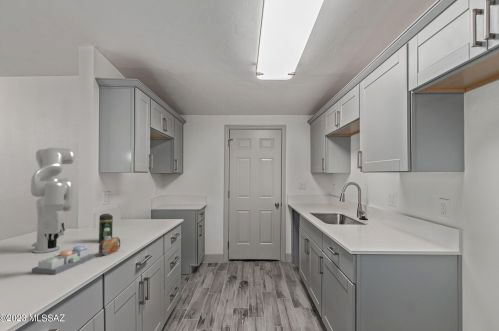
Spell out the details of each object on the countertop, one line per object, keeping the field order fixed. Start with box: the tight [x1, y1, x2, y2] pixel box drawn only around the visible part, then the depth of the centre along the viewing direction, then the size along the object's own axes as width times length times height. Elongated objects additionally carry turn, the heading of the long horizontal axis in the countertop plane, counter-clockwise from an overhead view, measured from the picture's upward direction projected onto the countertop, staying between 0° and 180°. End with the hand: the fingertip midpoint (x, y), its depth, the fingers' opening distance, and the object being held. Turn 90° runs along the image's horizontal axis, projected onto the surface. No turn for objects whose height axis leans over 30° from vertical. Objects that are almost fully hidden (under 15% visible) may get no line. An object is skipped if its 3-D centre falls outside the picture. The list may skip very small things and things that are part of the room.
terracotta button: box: [59, 249, 73, 257], centre depth 134 cm, size 5×5×3 cm
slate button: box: [72, 245, 85, 252], centre depth 142 cm, size 5×5×3 cm
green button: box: [44, 257, 58, 262], centre depth 126 cm, size 5×5×3 cm
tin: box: [98, 236, 121, 256], centre depth 155 cm, size 15×3×8 cm, turn 168°
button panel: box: [31, 248, 95, 275], centre depth 134 cm, size 25×12×5 cm, turn 173°
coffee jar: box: [98, 213, 114, 244], centre depth 182 cm, size 10×8×19 cm
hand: (52, 247), depth 126 cm, fingers closed
